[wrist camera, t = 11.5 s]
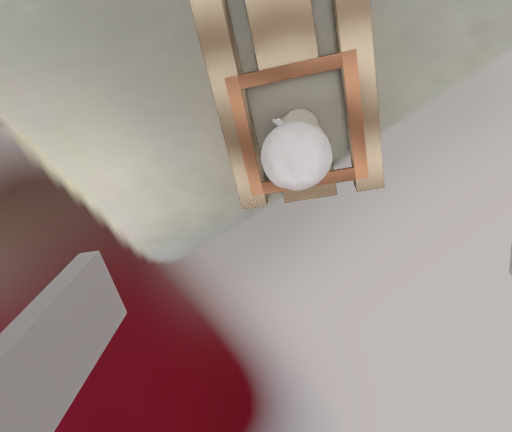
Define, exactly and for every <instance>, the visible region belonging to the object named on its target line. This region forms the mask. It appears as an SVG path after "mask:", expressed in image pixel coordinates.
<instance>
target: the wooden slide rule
mask: <svg viewBox="0 0 512 432" xmlns="http://www.w3.org/2000/svg"><path fill="white" fill-rule="evenodd" d="M190 4H191V8H192V12H193V16H194V20H195V24H196V28H197V32H198V36H199V40H200V44H201V48H202V52H203V56H204V60H205V64H206V68H207V72H208V76H209V80H210V84H211V87H212V91H213V95H214V99H215V103H216V107H217V111H218V115H219V119H220V123H221V127H222V131H223V135H224V139H225V143H226V147H227V151H228V155H229V159H230V163H231V167H232V171H233V175H234V179H235V183H236V187H237V191H238V195H239V199H240V202H241V206H242V209H248V208H254V207H261V206H267V202H268V197H269V196H268V193H275V192H281V191H283V195H284V200H285V203H287V202H293V201H300V200H306V199H312V198H319V197H326V196H333V195H337V190H336V183H337V182H344V181H350V180H354V185H355V188H356V191H357V192H359V191H366V190H372V189H378V188H384V175H383V162H382V150H381V137H380V124H379V112H378V99H377V86H376V74H375V61H374V48H373V36H372V23H371V10H370V0H333V4H334V13H335V22H336V31H337V39H338V48H339V53H336V54H332V55H327V56H323V57H318V49H317V42H316V35H315V27H314V20H313V12H312V5H311V0H245V4H246V9H247V14H248V19H249V24H250V29H251V34H252V39H253V44H254V49H255V54H256V59H257V64H258V69H259V71H255V72H251V73H246V74H242V71H241V67H240V62H239V58H238V53H237V48H236V44H235V39H234V34H233V30H232V25H231V21H230V16H229V11H228V7H227V2H226V0H190ZM339 68H341V74H342V83H343V92H344V101H345V110H346V118H347V127H348V136H349V145H350V153H351V162H352V167H349V168H343V169H337V170H334V168H333V164H331V167H330V169H329V171H328V173H327V174H326V176H325V177H324V178H323V179H322V180H321V181H320V182H319V183H318V184H316V185H314V186H312V187H310V188H307V189H304V190H300V191H294V190H289V189H284V188H281V187H278V186H276V185H275V184H274V183H273V182H271V181H265V177H264V173H263V168H262V163H261V159H260V154H259V150H258V145H257V140H256V136H255V131H254V127H253V122H252V117H251V113H250V108H249V104H248V99H247V94H246V90H245V89H246V88H250V87H255V86H260V85H264V84H269V83H274V82H278V81H283V80H288V79H292V78H297V77H302V76H306V75H311V74H316V73H320V72H325V71H329V70H334V69H339Z"/></svg>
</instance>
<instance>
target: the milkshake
mask: <svg viewBox="0 0 512 432" xmlns="http://www.w3.org/2000/svg"><path fill="white" fill-rule="evenodd" d="M271 121H272V122H273V123H274V124H276V125H277V126H276V127H275V128H274V129H273V130H272V131H271V132H270V133H269V135H268V136H267V137H266V139H265V141H264V143H263V146H262V150H261V163H262V166H263V169H264V171H265V173H266V175H267V177H268V178H269V179H270V181H271V182H273V183H274V184H275V185H276V186H278V187H281V188H284V189H289V190H294V191H300V190H304V189H307V188H310V187H312V186H314V185H316V184H318V183H319V182H320V181H321V180H322V179H323V178H324V177H325V176H326V174H327V173H328V171H329V169H330V167H331V164H332V157H333V156H332V149H331V145H330V142H329V140H328V138H327V137H326V135H325V134H324V132H323V130H322V129H321V127H320V125H319V123H318V120H317V118H316V116H315V115H314V114H312V113H311V112H309V111H308V110H306V109H294V110H291V111H290V112H289V113H288V114H286V115H285V116H284V117H283V118H282V119H280V118H276V119H273V120H271Z"/></svg>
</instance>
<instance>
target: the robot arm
mask: <svg viewBox="0 0 512 432" xmlns="http://www.w3.org/2000/svg"><path fill="white" fill-rule="evenodd" d="M510 274H511V275H512V246H511V259H510ZM126 313H127V312H126V309H125V307H124V305H123V303H122V301H121V298H120V296H119V294H118V292H117V289H116V287H115V285H114V283H113V281H112V279H111V276H110V274H109V272H108V270H107V268H106V265H105V263H104V261H103V259H102V257H101V254H100V252H99V251H94V252H86V253H79V255H77V256H76V257H75V258H74V259H73V260H72V262H71V263H69V264H68V266H67V267H66V268H65V269H64V270H63V271H62V272H61V273H60V274H59V275H58V276H57V277H56V278H55V279H54V280H53V281H52V282H51V283H50V284H49V285H48V286H47V287H46V288H45V289H44V290H43V291H42V292H41V293H40V294H39V295H38V296H37V297H36V298H35V299H34V300H33V301H32V302H31V303H30V304H29V305H28V306H27V307H26V308H25V309H24V310H23V311H22V312H21V313H20V314H19V315H18V316H17V317H16V318H15V319H14V320H13V322H11V323H10V324H9V326H7V328H6V329H5V330H4V331H3V332H2V333H1V334H0V432H54V431H55V429H56V428H57V426H58V424H59V423H60V421H61V419H62V418H63V416H64V414H65V413H66V411H67V410H68V408H69V406H70V405H71V403H72V402H73V400H74V398H75V397H76V395H77V393H78V391H79V390H80V388H81V387H82V385H83V384H84V382H85V380H86V378H87V377H88V375H89V374H90V372H91V370H92V369H93V367H94V365H95V364H96V362H97V361H98V359H99V357H100V356H101V354H102V353H103V351H104V349H105V348H106V346H107V344H108V343H109V341H110V340H111V338H112V336H113V335H114V333H115V331H116V330H117V328H118V326H119V325H120V323H121V322H122V320H123V318H124V317H125V315H126Z"/></svg>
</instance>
